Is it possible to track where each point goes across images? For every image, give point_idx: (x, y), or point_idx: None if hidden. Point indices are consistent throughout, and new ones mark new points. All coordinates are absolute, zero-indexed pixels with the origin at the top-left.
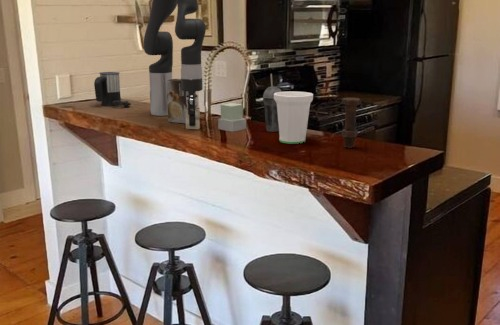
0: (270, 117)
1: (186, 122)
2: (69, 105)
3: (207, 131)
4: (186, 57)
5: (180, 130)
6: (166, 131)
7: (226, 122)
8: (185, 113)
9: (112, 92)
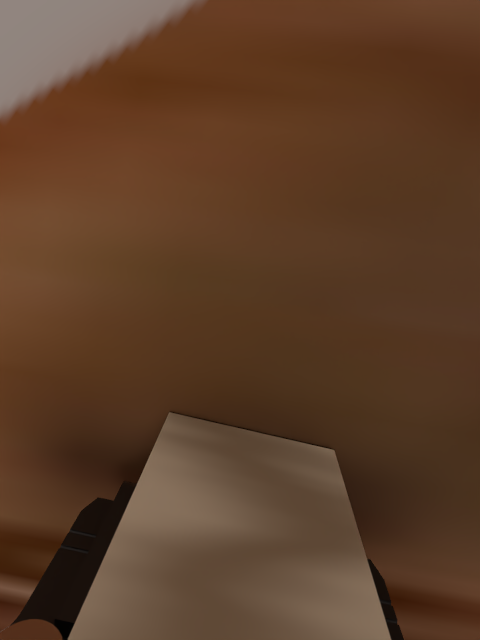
0: None
1: (141, 477)
2: None
3: (9, 580)
4: None
5: (104, 337)
6: (63, 134)
7: None
8: (79, 620)
9: None
